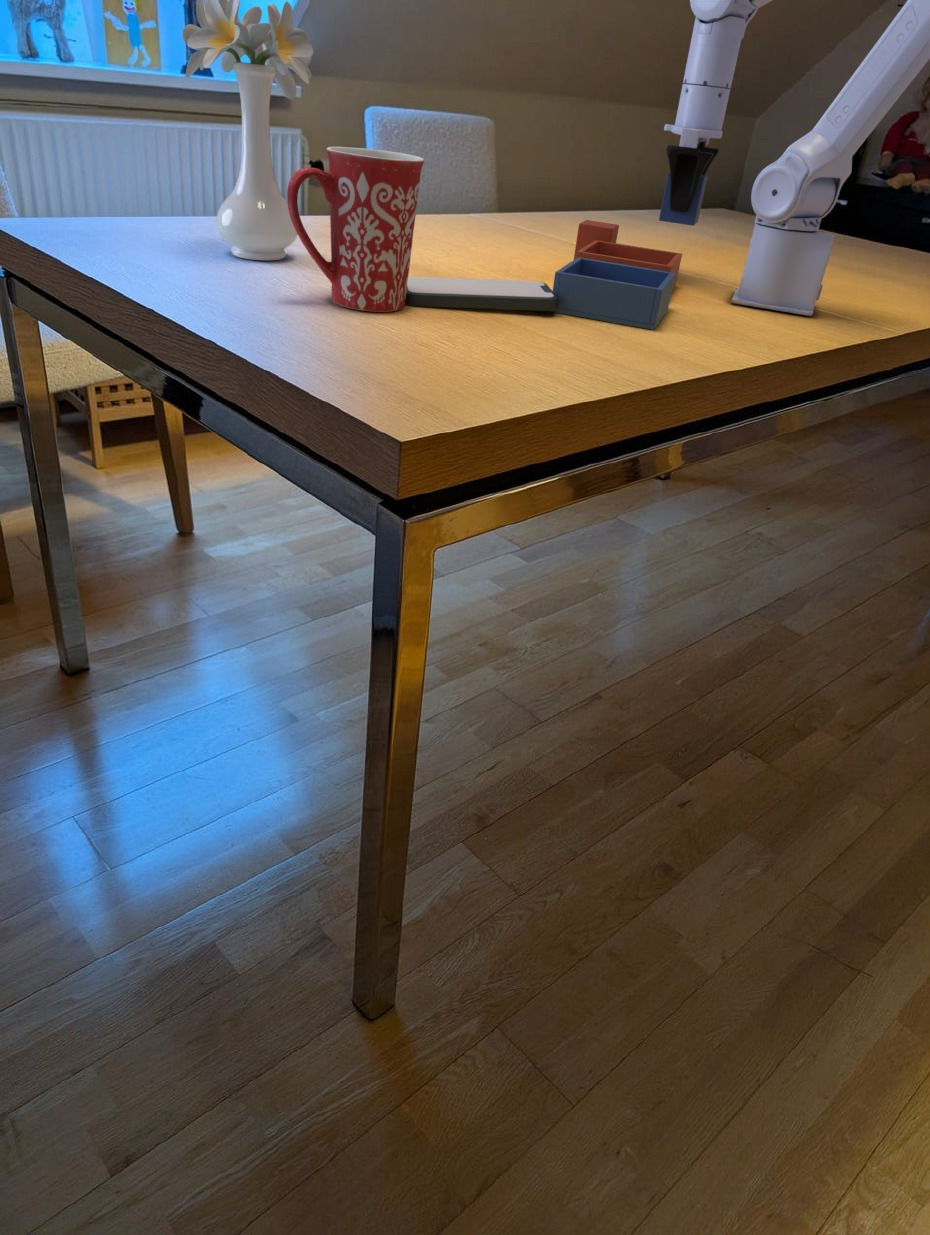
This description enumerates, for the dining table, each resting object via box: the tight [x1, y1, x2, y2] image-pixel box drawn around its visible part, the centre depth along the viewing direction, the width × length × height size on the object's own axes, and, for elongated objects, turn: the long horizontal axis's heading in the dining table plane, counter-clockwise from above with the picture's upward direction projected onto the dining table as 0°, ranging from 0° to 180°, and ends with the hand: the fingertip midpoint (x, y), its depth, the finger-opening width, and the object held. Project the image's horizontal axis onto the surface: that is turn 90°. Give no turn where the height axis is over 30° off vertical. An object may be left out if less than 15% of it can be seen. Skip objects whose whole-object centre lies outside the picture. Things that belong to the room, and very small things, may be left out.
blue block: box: [658, 172, 709, 226], centre depth 112 cm, size 4×4×6 cm
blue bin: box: [549, 257, 676, 331], centre depth 95 cm, size 11×11×4 cm
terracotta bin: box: [576, 240, 683, 291], centre depth 108 cm, size 11×11×4 cm
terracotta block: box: [573, 219, 620, 260], centre depth 116 cm, size 4×4×6 cm
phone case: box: [405, 275, 558, 312], centre depth 93 cm, size 9×2×16 cm
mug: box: [286, 146, 425, 313], centre depth 84 cm, size 13×9×14 cm
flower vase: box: [182, 0, 314, 262], centre depth 97 cm, size 13×18×25 cm
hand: (681, 209), depth 113 cm, fingers closed on blue block, 4 cm apart
